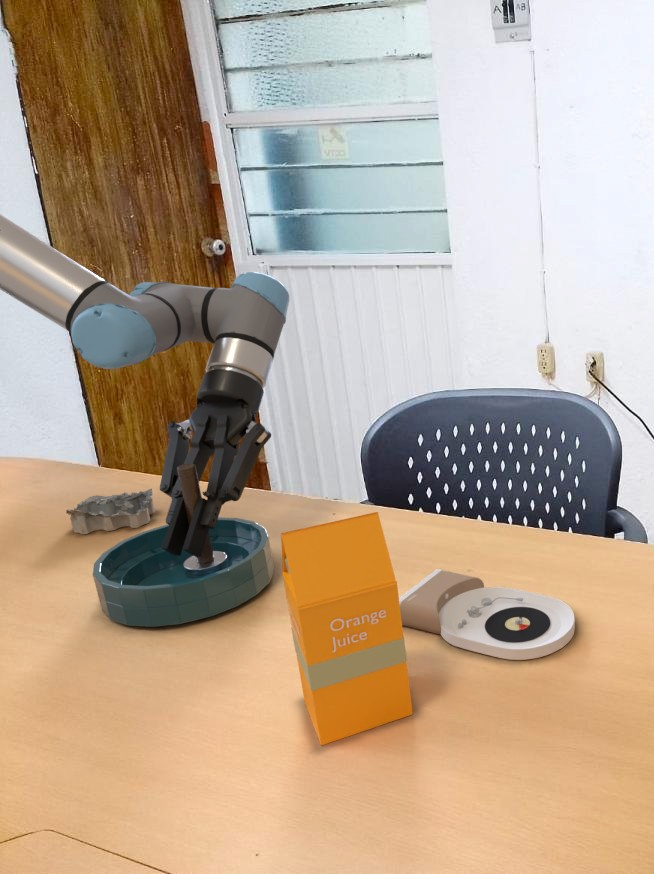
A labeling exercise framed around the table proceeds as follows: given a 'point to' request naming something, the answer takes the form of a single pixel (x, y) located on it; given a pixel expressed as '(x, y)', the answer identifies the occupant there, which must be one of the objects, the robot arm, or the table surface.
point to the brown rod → (191, 493)
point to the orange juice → (346, 626)
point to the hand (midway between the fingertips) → (181, 552)
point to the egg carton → (112, 512)
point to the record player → (487, 616)
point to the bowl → (181, 576)
